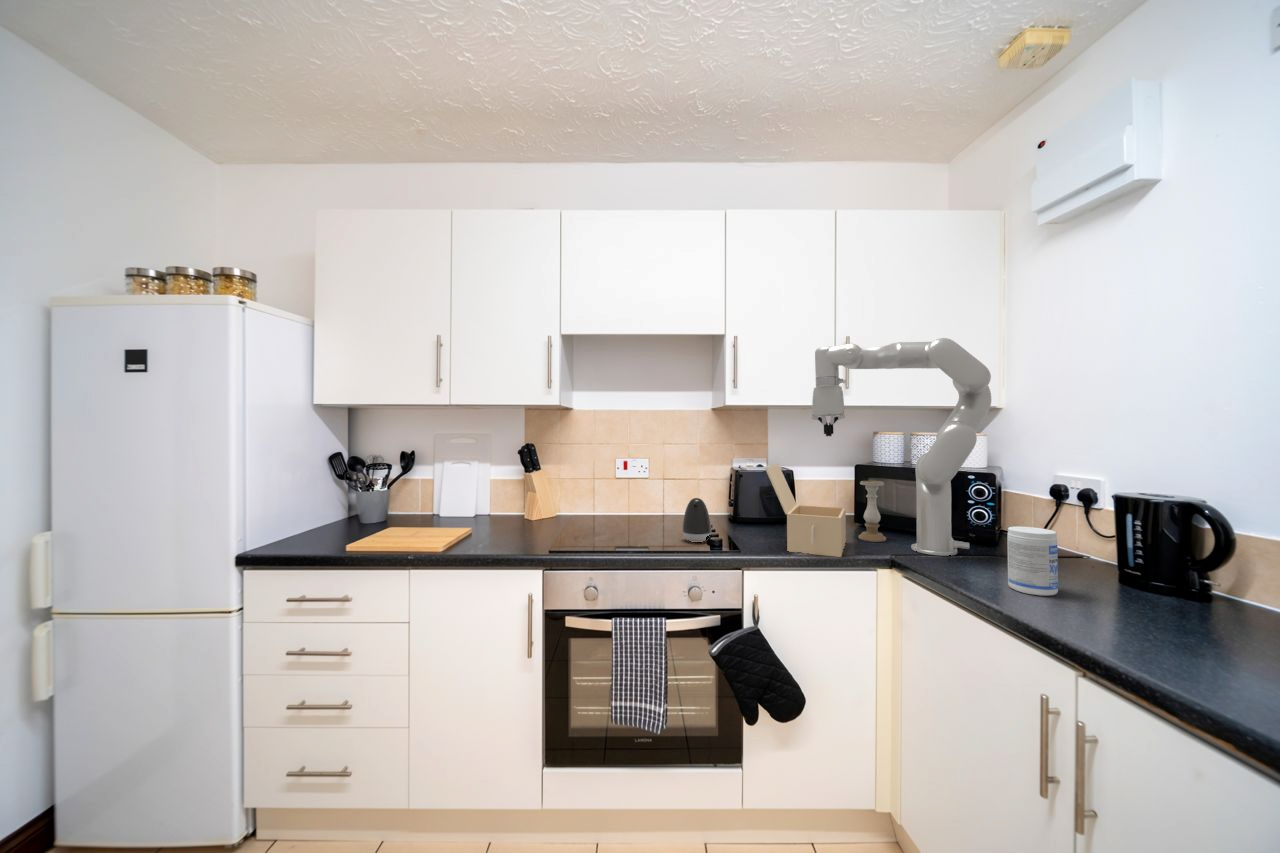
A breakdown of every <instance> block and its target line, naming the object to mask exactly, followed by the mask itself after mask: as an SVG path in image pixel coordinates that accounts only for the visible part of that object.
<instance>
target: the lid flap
mask: <svg viewBox="0 0 1280 853" xmlns="http://www.w3.org/2000/svg"><path fill="white" fill-rule="evenodd" d="M764 469H765V472H766V474H767V476H768V479H769V481H770V482H771V485H772V487H773V489H774V492H775V494H776V496H777V498H778V501H779V502H780V506H781V508H782V510H783V512H784V515H787V514H788V513H789V512H790V511H791V510H792V509H793V508H794V507H795V506H796V505H798V504H797V502H796V500H795V498H794V495H793V493H792V491H791V489H790V486H789V484H788V482H787V480H786V478H785V475H784V473H783V471H782V469H781V466H780V464H779V463H776V464H773V465H770V466H767V467H765V468H764Z"/></svg>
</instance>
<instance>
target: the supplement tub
mask: <svg viewBox="0 0 1280 853" xmlns="http://www.w3.org/2000/svg"><path fill="white" fill-rule="evenodd" d="M1058 551H1059V550H1058V537H1057V532H1056V531H1054V530H1052V529H1046V528H1043V527H1033V526H1009V527H1008V528H1007V583H1008V586H1009V587H1010V588H1011V589H1013V590H1015V591H1017V592H1020V593H1023V594H1027V595H1028V594H1029V595H1035V596H1042V597H1043V596H1047V597H1048V596H1049V597H1050V596H1056V595H1057V594H1058V592H1059V561H1058V559H1059V558H1058V557H1059V556H1058V553H1059V552H1058Z"/></svg>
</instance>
